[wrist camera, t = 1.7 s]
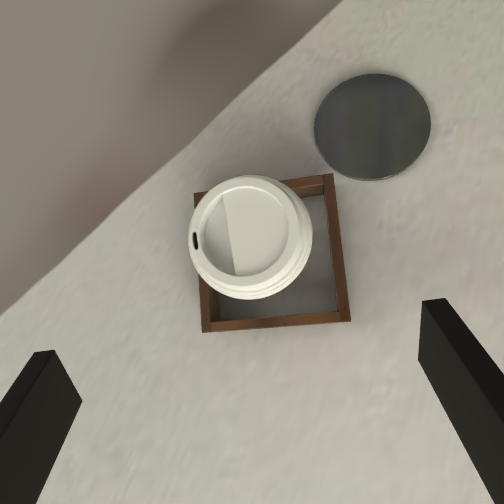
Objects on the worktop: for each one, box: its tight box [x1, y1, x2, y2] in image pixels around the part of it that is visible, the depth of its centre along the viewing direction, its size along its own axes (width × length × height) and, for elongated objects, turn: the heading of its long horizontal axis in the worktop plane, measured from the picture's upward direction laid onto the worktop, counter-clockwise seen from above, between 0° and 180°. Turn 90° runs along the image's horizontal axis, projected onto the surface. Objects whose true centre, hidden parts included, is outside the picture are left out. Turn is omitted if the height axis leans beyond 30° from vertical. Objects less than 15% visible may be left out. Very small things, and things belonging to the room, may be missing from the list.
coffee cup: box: [188, 175, 312, 300], centre depth 34 cm, size 10×10×15 cm
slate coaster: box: [314, 74, 431, 181], centre depth 41 cm, size 12×12×1 cm
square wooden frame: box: [194, 173, 351, 333], centre depth 40 cm, size 15×15×4 cm
